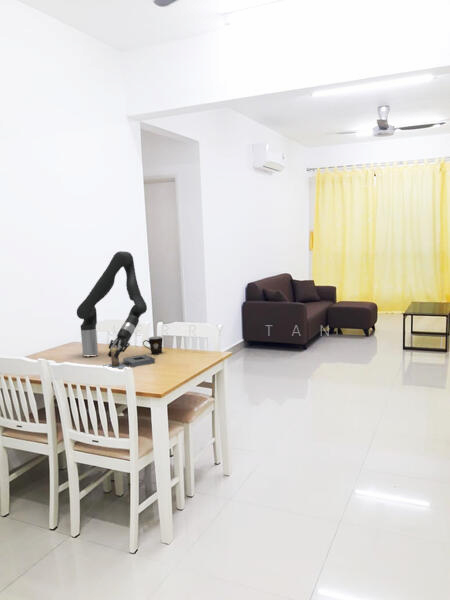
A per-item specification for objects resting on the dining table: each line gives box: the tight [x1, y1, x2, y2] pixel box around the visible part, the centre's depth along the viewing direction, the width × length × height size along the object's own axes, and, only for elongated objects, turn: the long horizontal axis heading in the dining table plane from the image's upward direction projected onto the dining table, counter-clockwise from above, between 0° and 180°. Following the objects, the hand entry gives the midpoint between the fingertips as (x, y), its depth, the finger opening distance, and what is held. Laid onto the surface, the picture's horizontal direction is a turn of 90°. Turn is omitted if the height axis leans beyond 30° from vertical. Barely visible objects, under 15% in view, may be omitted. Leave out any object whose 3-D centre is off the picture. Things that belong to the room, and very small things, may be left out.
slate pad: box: [102, 361, 129, 370], centre depth 276 cm, size 14×10×1 cm
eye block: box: [122, 354, 156, 368], centre depth 283 cm, size 14×14×2 cm
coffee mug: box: [142, 335, 163, 356], centre depth 306 cm, size 12×9×10 cm
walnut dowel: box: [110, 348, 120, 367], centre depth 276 cm, size 4×4×10 cm
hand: (112, 356), depth 274 cm, fingers open, 4 cm apart
